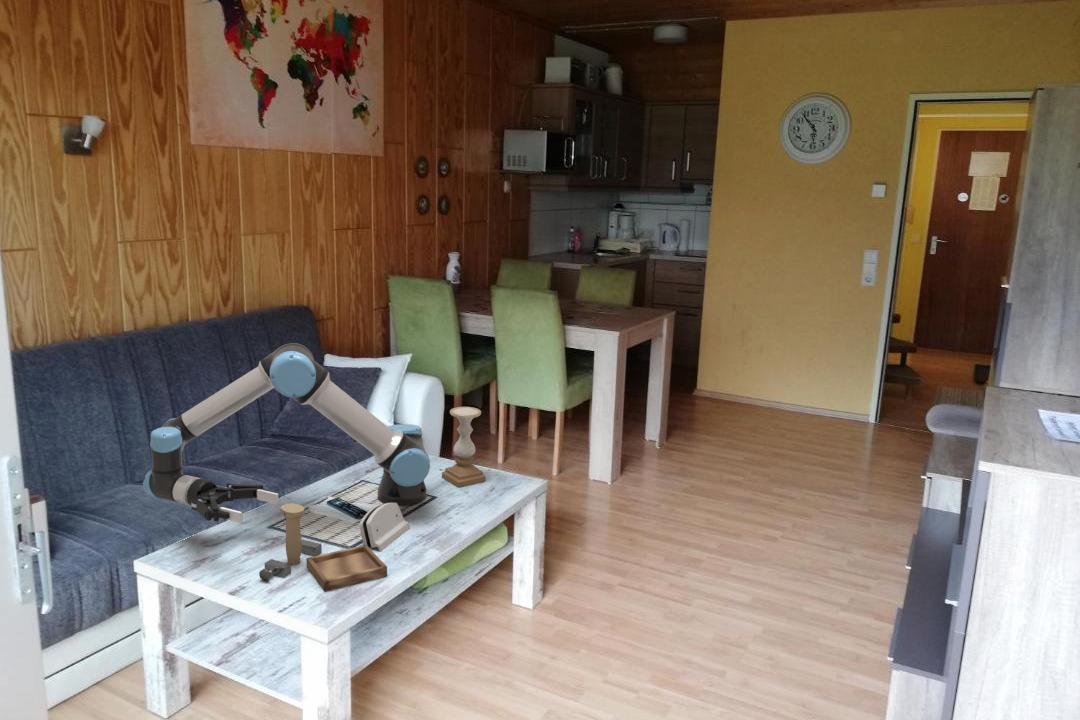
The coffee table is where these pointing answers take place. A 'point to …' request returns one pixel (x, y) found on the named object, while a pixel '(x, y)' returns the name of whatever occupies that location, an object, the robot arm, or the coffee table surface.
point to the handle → (293, 531)
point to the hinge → (382, 526)
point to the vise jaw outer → (275, 569)
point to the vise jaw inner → (311, 548)
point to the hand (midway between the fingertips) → (260, 508)
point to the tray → (346, 567)
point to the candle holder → (464, 451)
